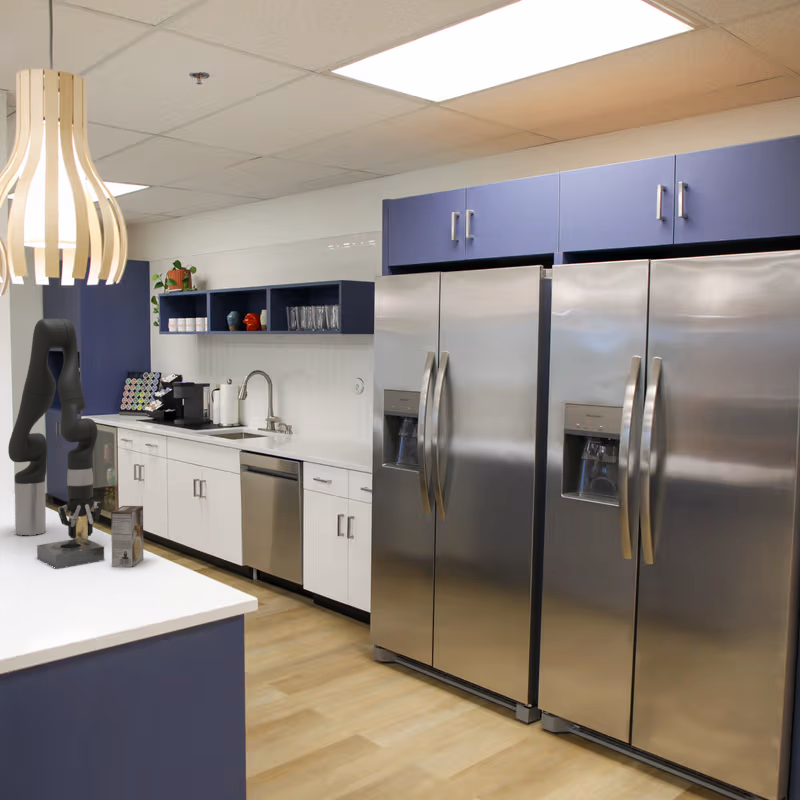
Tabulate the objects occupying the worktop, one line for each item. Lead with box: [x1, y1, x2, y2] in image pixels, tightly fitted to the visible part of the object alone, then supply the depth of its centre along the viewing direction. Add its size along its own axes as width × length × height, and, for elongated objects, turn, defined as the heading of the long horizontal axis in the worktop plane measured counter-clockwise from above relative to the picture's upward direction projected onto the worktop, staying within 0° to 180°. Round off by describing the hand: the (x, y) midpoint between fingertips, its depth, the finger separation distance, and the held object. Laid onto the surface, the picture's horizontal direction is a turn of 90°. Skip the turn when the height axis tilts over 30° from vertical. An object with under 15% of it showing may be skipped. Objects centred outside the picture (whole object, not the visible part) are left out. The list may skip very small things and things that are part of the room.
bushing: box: [72, 515, 89, 540], centre depth 249 cm, size 4×4×10 cm
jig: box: [36, 538, 105, 569], centre depth 235 cm, size 14×14×4 cm
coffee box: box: [110, 505, 144, 568], centre depth 233 cm, size 9×6×16 cm
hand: (80, 536), depth 249 cm, fingers closed on bushing, 4 cm apart
